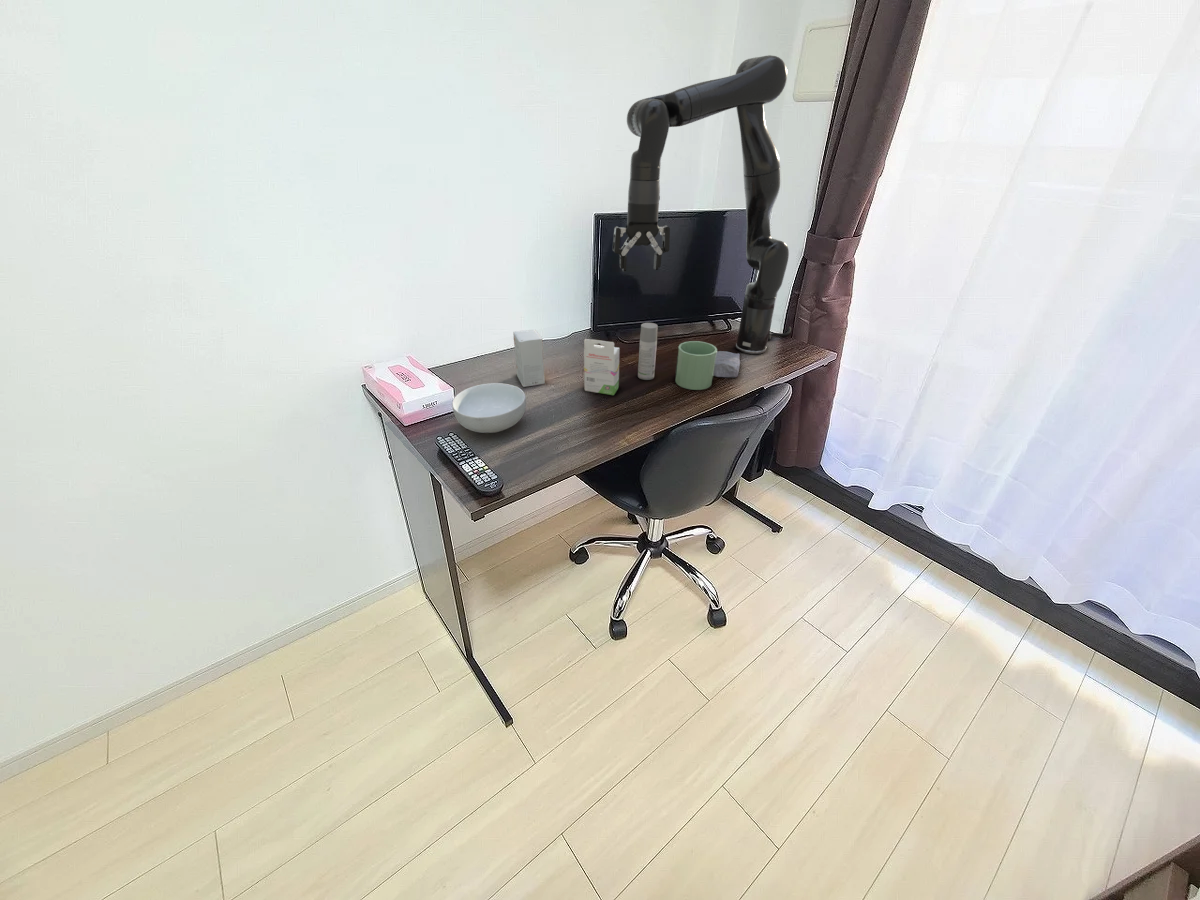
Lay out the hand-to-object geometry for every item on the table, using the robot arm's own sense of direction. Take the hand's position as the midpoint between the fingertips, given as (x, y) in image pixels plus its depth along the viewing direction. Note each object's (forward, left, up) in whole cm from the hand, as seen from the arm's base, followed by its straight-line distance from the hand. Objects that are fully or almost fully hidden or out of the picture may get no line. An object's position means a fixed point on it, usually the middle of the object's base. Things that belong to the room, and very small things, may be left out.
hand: (639, 269), depth 129 cm
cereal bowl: (+47, -3, -29) cm, 55 cm away
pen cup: (-7, +16, -29) cm, 34 cm away
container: (0, +5, -29) cm, 29 cm away
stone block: (-20, +17, -29) cm, 39 cm away
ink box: (+15, +2, -29) cm, 33 cm away
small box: (+25, -16, -29) cm, 42 cm away
